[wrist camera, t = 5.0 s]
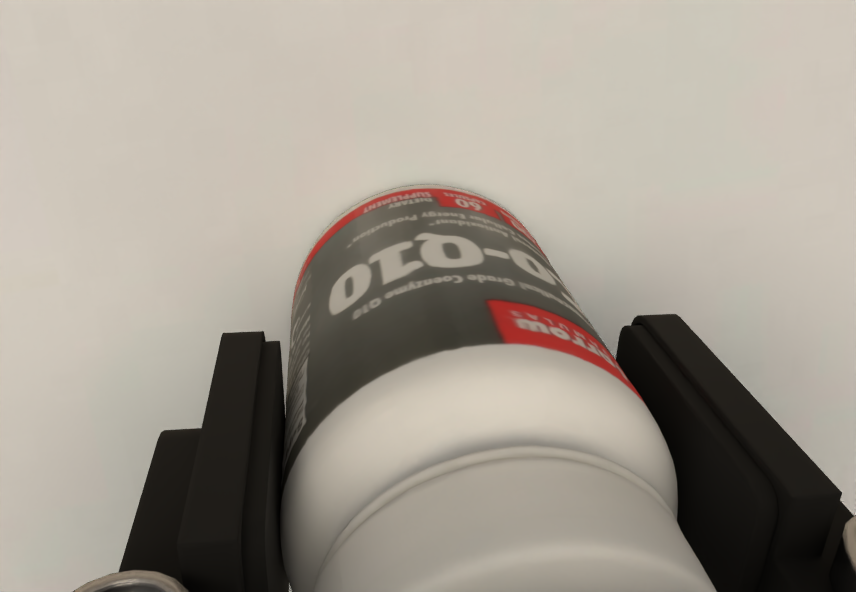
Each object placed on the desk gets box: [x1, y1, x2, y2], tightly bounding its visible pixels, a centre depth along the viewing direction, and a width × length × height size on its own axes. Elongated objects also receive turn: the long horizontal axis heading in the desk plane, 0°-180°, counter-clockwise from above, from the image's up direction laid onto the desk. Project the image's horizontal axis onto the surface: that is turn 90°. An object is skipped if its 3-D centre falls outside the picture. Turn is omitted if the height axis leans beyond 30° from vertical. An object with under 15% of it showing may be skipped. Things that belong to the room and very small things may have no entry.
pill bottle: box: [280, 185, 717, 592], centre depth 11 cm, size 5×5×8 cm
